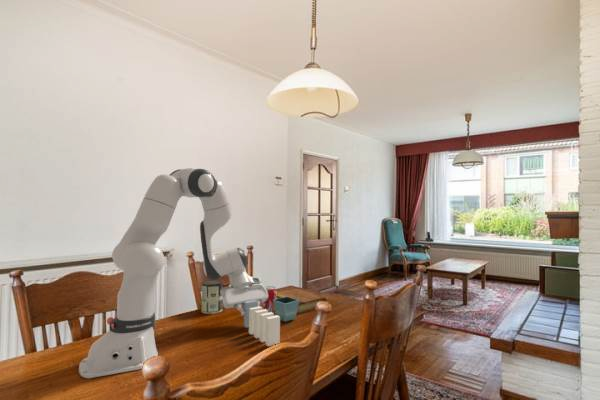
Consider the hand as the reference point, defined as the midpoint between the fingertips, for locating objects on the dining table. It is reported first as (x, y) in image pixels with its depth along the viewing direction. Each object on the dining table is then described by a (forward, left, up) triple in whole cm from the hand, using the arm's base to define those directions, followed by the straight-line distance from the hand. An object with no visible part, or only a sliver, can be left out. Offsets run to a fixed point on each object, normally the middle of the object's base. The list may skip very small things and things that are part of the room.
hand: (251, 313), depth 135 cm
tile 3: (0, -13, -7) cm, 15 cm away
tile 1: (0, -4, -7) cm, 8 cm away
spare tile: (0, +1, -5) cm, 5 cm away
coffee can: (-4, +33, -7) cm, 34 cm away
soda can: (+18, +15, -7) cm, 25 cm away
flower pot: (+19, +2, -7) cm, 20 cm away
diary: (+37, +17, -8) cm, 41 cm away
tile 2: (0, -8, -7) cm, 11 cm away
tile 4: (0, -17, -7) cm, 19 cm away
